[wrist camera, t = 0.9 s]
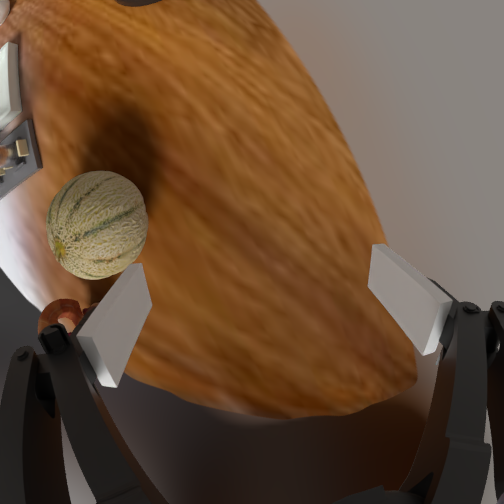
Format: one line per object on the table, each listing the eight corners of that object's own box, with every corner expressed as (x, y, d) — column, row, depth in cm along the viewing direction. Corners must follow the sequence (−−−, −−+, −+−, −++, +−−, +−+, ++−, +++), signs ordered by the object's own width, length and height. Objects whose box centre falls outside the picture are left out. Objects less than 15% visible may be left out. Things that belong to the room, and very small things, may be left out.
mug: (139, 321, 46) (112, 378, 32) (117, 341, 48) (91, 395, 34) (81, 267, 42) (36, 311, 28) (64, 292, 44) (24, 336, 30)
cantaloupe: (177, 196, 39) (145, 221, 25) (136, 271, 43) (100, 322, 29) (101, 149, 35) (43, 154, 21) (69, 226, 39) (16, 259, 25)
